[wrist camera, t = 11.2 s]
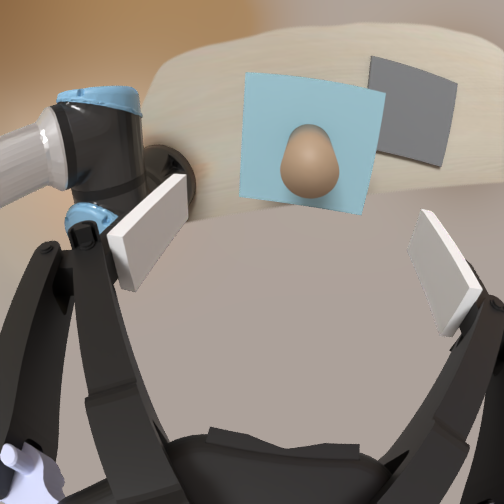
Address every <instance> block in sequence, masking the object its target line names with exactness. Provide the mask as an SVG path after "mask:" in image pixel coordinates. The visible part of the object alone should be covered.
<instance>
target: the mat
mask: <svg viewBox="0 0 504 504" xmlns="http://www.w3.org/2000/svg"><path fill="white" fill-rule="evenodd" d="M457 85H458V84H457V83H455V82H452V81H450V80H447V79H445V78H442V77H440V76H437V75H434V74H431V73H429V72H426V71H423V70H420V69H417V68H414V67H411V66H408V65H404V64H401V63H398V62H394V61H390V60H387V59H383V58H379V57H375V56H371V62H370V72H369V80H368V89H371V90H375V91H379V92H383V93H386V96H385V103H384V109H383V116H382V122H381V127H380V133H379V138H378V144H377V149H376V150H378V151H382V152H387V153H391V154H395V155H399V156H403V157H407V158H411V159H415V160H419V161H422V162H426V163H429V164H433V165H436V166H440V167H441V166H442V163H443V159H444V155H445V150H446V146H447V142H448V137H449V132H450V127H451V122H452V117H453V111H454V105H455V99H456V92H457Z"/></svg>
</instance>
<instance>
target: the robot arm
mask: <svg viewBox="0 0 504 504" xmlns="http://www.w3.org/2000/svg"><path fill="white" fill-rule="evenodd" d="M56 102H57V104H56V105H53V106H50V107H46V108H45V109H44V110H43V112H42V113H41V115H40V116H39V118H38V120H37V121H36V122H35V123H33V124H30V125H27V126H25V127H22V128H19V129H17V130H14V131H12V132H9V133H7V134H4V135H2V136H0V208H2V207H4V206H6V205H8V204H10V203H12V202H14V201H16V200H18V199H20V198H22V197H24V196H26V195H28V194H30V193H32V192H35V191H37V190H39V189H41V188H43V187H45V186H52V187H54V188H56V189H58V190H60V191H65V190H67V189H70V188H71V190H72V195H73V199H74V205H72V206H71V207H70V208H69V211H68V212H67V214H66V217H65V230H66V233H67V235H68V237H69V240H70V243H71V247H72V250H63V251H62V250H61V247H60V244H59V243H58V242H57V241H49V242H45V243H42V244H41V245H40V246H39V247H38V248H37V249H36V250H35V252H34V254H33V256H32V257H31V259H30V261H29V264H28V266H27V268H26V270H25V272H24V274H23V276H22V279H21V281H20V283H19V286H18V288H17V290H16V293H15V295H14V298H13V300H12V303H11V305H10V308H9V310H8V313H7V316H6V319H5V321H4V324H3V327H2V330H1V333H0V502H3V503H5V504H439V503H440V502H441V500H442V499H443V497H444V496H445V494H446V493H447V491H448V489H449V488H450V486H451V484H452V483H453V481H454V479H455V477H456V476H457V474H458V472H459V470H460V468H461V467H462V464H463V463H464V460H465V459H466V457H467V454H468V452H469V449H470V447H469V444H467V443H466V442H465V441H466V439H467V436H468V434H469V432H470V430H471V428H472V425H473V423H474V421H475V419H476V416H477V414H478V411H479V408H480V406H481V404H482V401H483V399H484V396H485V402H484V409H483V415H482V422H481V427H480V432H479V437H478V441H477V446H476V450H475V454H474V458H473V462H472V465H471V469H470V473H469V476H468V479H467V482H466V485H465V488H464V491H463V495H462V498H461V502H460V504H504V303H503V302H502V301H501V300H500V299H499V298H497V297H495V296H493V295H489V294H488V292H487V290H486V289H485V287H484V285H483V283H482V281H481V280H480V279H479V276H478V275H477V274H476V271H475V270H474V268H473V267H472V265H471V264H470V263H469V262H468V261H467V260H466V259H465V258H464V257H463V255H462V254H461V252H460V251H459V249H458V247H457V246H456V244H455V243H454V241H453V240H452V238H451V237H450V236H449V234H448V233H447V231H446V230H445V228H444V227H443V225H442V224H441V223H440V221H439V220H438V218H437V217H436V216H435V214H434V213H433V212H432V211H428V210H424V209H421V211H420V214H419V218H418V220H417V223H416V226H415V230H414V232H413V235H412V238H411V241H410V243H409V246H408V248H407V252H408V254H409V256H410V258H411V261H412V263H413V265H414V268H415V270H416V273H417V275H418V278H419V280H420V283H421V285H422V288H423V290H424V293H425V296H426V298H427V301H428V304H429V307H430V309H431V312H432V315H433V318H434V321H435V324H436V327H437V330H438V333H439V336H446V337H453V335H454V334H455V332H456V331H457V329H458V328H460V330H461V333H462V334H461V335H460V337H459V338H458V339H457V341H456V342H455V344H454V345H453V346H452V347H451V349H450V351H452V352H451V354H450V356H449V358H448V360H447V362H446V364H445V365H444V367H443V369H442V371H441V373H440V375H439V377H438V378H437V380H436V382H435V384H434V385H433V387H432V389H431V390H430V392H429V394H428V395H427V397H426V398H425V400H424V402H423V403H422V405H421V406H420V408H419V409H418V411H417V412H416V414H415V415H414V417H413V418H412V420H411V421H410V423H409V424H408V426H407V427H406V428H405V430H404V431H403V432H402V434H401V435H400V437H399V438H398V439H397V441H396V442H395V443H394V445H393V446H392V447H391V448H390V450H389V451H388V452H387V453H386V454H385V455H384V456H383V457H382V458H380V459H379V460H378V461H377V460H376V459H374V458H372V457H370V456H368V455H365V454H363V453H359V446H360V445H359V444H329V443H323V444H318V445H311V446H306V447H298V448H290V449H284V448H281V447H278V446H275V445H273V444H270V443H268V442H265V441H262V440H260V439H258V438H255V437H253V436H250V435H248V434H243V433H238V432H233V431H228V430H223V429H218V428H214V427H210V429H209V432H208V434H201V435H191V436H187V437H183V438H180V439H176V440H174V441H172V442H169V439H168V437H167V435H166V433H165V431H164V430H163V427H162V426H161V424H160V421H159V419H158V417H157V415H156V412H155V410H154V408H153V405H152V403H151V400H150V398H149V395H148V392H147V390H146V387H145V385H144V382H143V379H142V377H141V374H140V371H139V368H138V365H137V362H136V360H135V357H134V354H133V351H132V347H131V345H130V341H129V338H128V335H127V332H126V328H125V325H124V321H123V318H122V314H121V310H120V307H119V303H118V299H117V295H116V291H115V288H114V285H113V284H114V283H115V282H116V280H117V279H118V280H119V283H120V287H121V289H124V290H128V291H132V292H136V291H137V289H138V288H139V287H140V285H141V284H142V282H143V281H144V279H145V278H146V276H147V275H148V273H149V272H150V271H151V269H152V268H153V266H154V265H155V263H156V262H157V261H158V259H159V258H160V256H161V255H162V254H163V252H164V251H165V249H166V248H167V247H168V245H169V243H170V242H171V241H172V240H173V238H174V237H175V235H176V234H177V233H178V232H179V230H180V229H181V228H182V226H183V225H184V223H185V222H186V221H187V220H188V205H189V204H190V203H191V201H192V199H193V197H194V194H195V187H196V183H195V176H194V173H193V170H192V168H191V166H190V164H189V163H188V161H187V160H186V159H185V157H184V156H183V155H181V154H180V153H179V152H178V151H176V150H174V149H173V148H170V147H168V146H164V145H151V146H148V147H145V148H144V147H143V135H142V121H141V118H142V113H141V110H140V101H139V94H138V92H137V91H136V90H135V89H134V88H132V87H129V86H101V87H90V88H85V89H76V90H69V91H65V92H62V93H59V94H58V97H57V100H56ZM74 302H75V310H76V320H77V328H78V336H79V343H80V350H81V357H82V362H83V368H84V373H85V378H86V383H87V388H88V393H89V395H88V397H86V398H85V408H86V412H87V416H88V420H89V424H90V428H91V431H92V435H93V438H94V442H95V445H96V448H97V451H98V454H99V457H100V461H101V463H102V466H103V469H104V472H105V475H106V477H107V478H106V479H103V480H101V481H100V482H98V483H96V484H93V485H91V486H89V487H87V488H85V489H83V490H81V491H79V492H76V493H74V494H72V495H70V496H67V497H65V495H64V494H63V491H62V487H63V486H64V483H65V482H64V477H63V476H62V474H61V472H60V469H59V467H58V465H57V464H56V457H57V449H58V437H59V436H58V435H59V408H60V395H61V383H62V373H63V365H64V357H65V351H66V344H67V338H68V332H69V326H70V321H71V316H72V311H73V306H74ZM485 393H486V394H485Z"/></svg>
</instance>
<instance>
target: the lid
mask: <svg viewBox="0 0 504 504" xmlns="http://www.w3.org/2000/svg"><path fill="white" fill-rule="evenodd" d="M385 96H386V93H383V92H379V91H375V90H371V89H367V88H362V87H358V86H353V85H348V84H343V83H337V82H332V81H326V80H319V79H312V78H305V77H297V76H288V75H278V74H266V73H249V72H246V76H245V93H244V110H243V129H242V148H241V169H240V190H239V197H245V198H253V199H261V200H268V201H276V202H283V203H289V204H296V205H303V206H309V207H316V208H322V209H328V210H334V211H340V212H346V213H351V214H358V215H362V211H363V207H364V202H365V199H366V195H367V190H368V186H369V182H370V177H371V173H372V168H373V164H374V159H375V154H376V149H377V144H378V138H379V133H380V127H381V122H382V116H383V109H384V103H385Z"/></svg>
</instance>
